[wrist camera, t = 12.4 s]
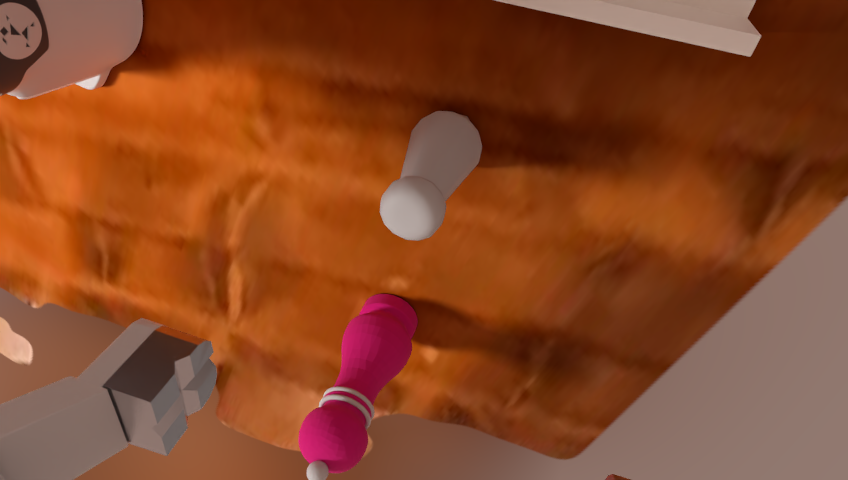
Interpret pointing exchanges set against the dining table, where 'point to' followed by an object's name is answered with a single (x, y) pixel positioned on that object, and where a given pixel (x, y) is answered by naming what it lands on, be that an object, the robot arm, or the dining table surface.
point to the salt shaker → (430, 174)
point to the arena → (666, 19)
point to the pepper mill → (358, 385)
